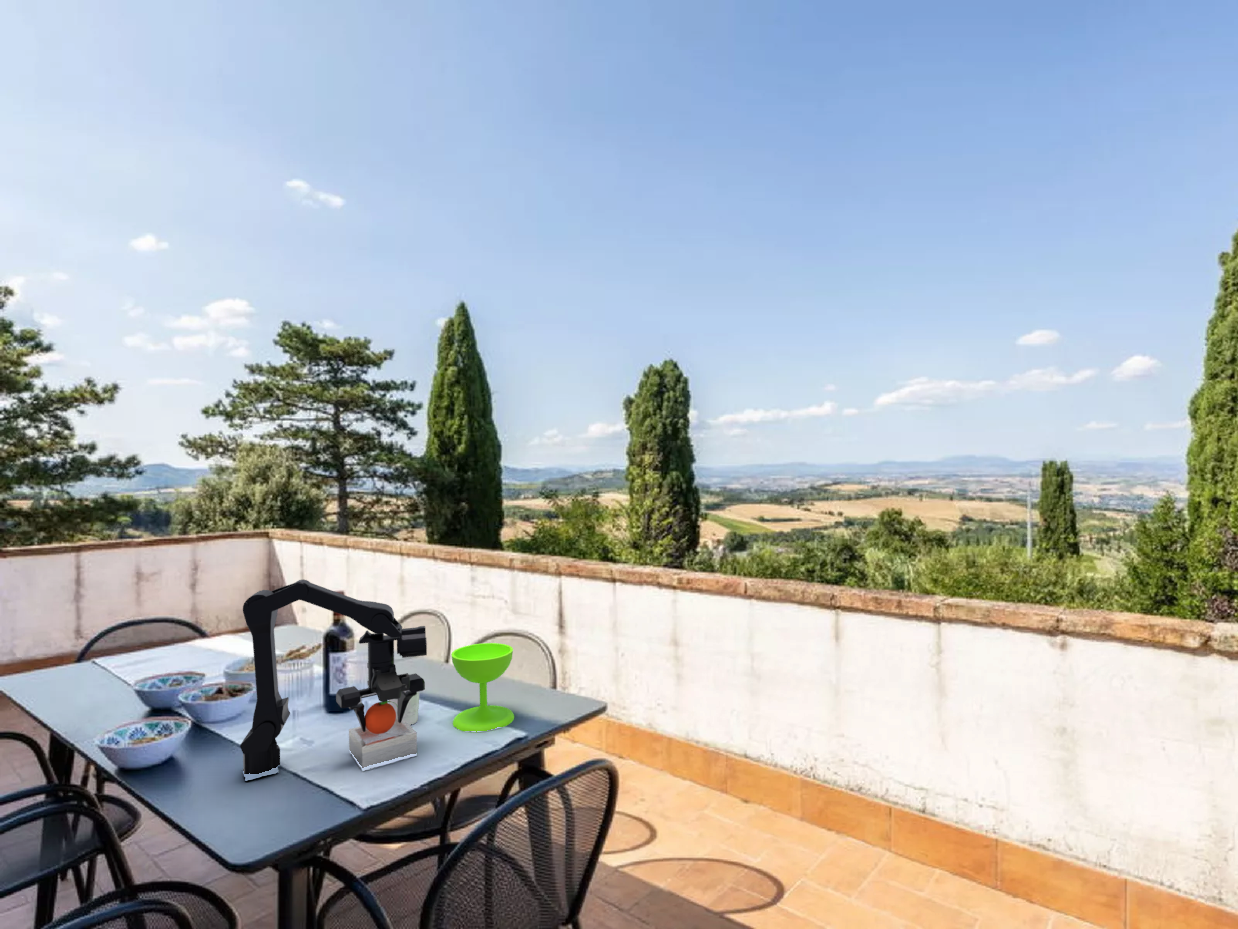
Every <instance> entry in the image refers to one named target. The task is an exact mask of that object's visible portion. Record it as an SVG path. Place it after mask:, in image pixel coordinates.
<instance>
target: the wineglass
mask: <svg viewBox="0 0 1238 929" xmlns="http://www.w3.org/2000/svg"><path fill="white" fill-rule="evenodd" d="M513 652H514V648H513V647H512V646H511V645H508V644H507V643H506V644H505V643H498V642H485V643H482V642H481V643H474V644H469V645H464V646H461V647H458V648H456V649H454V650H453V651H452V652H451V655H450V657H451V662H452V664H453V668H454V669H455V671H456V673H457V674H459V676H460V677H461V678H463V679H465V680H467V681H468V682H469V683H475V684H478V685H479V686H478V687H479V706H474V707H471V708H467V709H464V710H462V711H461V712H458V714H457V715H455V716H454V718H453V720H452V726H453V728H455V727H456V728H457V729H456V728H455V729H456V730H458V729H459V731H461V732H465V731H476V732H475V733H478V732H477V731H487V730H491V729H495V728H497V727H503V728H505V727H507V726H508V725H510V724H512V722H513V721H514V720H515V714H514V713H513V710H511V709H510V708H508V707H505V706H502V705H501V706H500V705H496V704H495V705H493V704H492V705H491V704H490V705H488V690H487V689H488V683H490V682H492V681H493V682H494V681H496V680H497V679H499V677H501V676H503V675H504V674H505V672H506V671H507V669H508V668H509V667H510V665H511V661H512V659H513ZM487 732H488V731H487Z"/></svg>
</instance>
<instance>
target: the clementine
mask: <svg viewBox="0 0 1238 929" xmlns="http://www.w3.org/2000/svg"><path fill="white" fill-rule="evenodd" d="M389 702H391V701H389V700H387V701H386V702H381V701H378V702H375V703H374V704H372V705H371V706H369V707H368V709H367V710H366V712H365V713H364V716H365V725H366V728H367V729H368V730H369V731H370V732H372V733H374V734H382V733H385V732H387V731H388V730H390V729H391V728H392V726H393V725H394V723H395V720H396V712H395V709H394V707H393V706H392V705H391V704H389ZM393 703H394V702H393ZM395 704H396V703H395ZM396 705H397V704H396ZM397 707H398V706H397Z"/></svg>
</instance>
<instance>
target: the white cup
mask: <svg viewBox="0 0 1238 929" xmlns="http://www.w3.org/2000/svg"><path fill="white" fill-rule="evenodd" d="M388 701H391V702H389V704H391V705H392V706H393V707H394V709H395V712H396V717H398V716H397V705H398V699H391V700H388ZM393 702H394V703H393ZM395 703H396V704H397V705H396V704H395ZM419 709H420V691H419V692H417V695H415V696H413V697H412V698H411V699H410V700H409V702H408V704H407V707H406V709H405V712H404V715H403V719H404V720H405V721H406V722H407V723H408V724H409V725H410V726H412V725H414V724H416V723H417V722H418V721H419ZM411 724H412V725H411Z"/></svg>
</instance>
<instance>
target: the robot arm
mask: <svg viewBox="0 0 1238 929" xmlns="http://www.w3.org/2000/svg"><path fill="white" fill-rule="evenodd" d="M297 601H303V602H305V603H308V604H312V605H314V606H316V607H319V608H322V609H325V610H329V611H330V612H334V613H337V614H339V615H342V616H344V617H348V618H350V619H352V620H353V621H355V622H356V623H357V624H358V625H360V626H361V627H362V628H365V629H367V630H365V632H364V634H363V635H362V636H361V637H359V640H358V643H359V644H360V645H361V644H367V664H366V666H367V674H368V675H367V676H368V677H367V678H368V679H367V688H362V689H359V688H357V687H356V686H354V685H352V686H347V687H345V688H344V687H343V688H339V689H338V690H337V692H336V693H335V699H336V700H335V701H336V703H337V704H338V706H339V707H340V708H341V709H347V708H348V709H349V710H351V711H354V713H355V715H356V718H357V720H358V722H359V723H358V724H359V725H360V726H361V728H362V731H363V732H365V729H366V725H365V704H364V703H363V702H362V700H363V699H365V698H370V697H374V696H377V697H378V702H386V701H389V700H391V699H398V705H397V706H398V707H397V716H398V722H399V723H401V721H402V718H403V715H404V712H405V709H406V707H407V704H408V702H409V700H410V699H411V698H412V697H413V696H415V695H417V692H419V693H420V692H422V691H424V690H426V688H425V687H426V683H425V679H424V678H423V677H421V676H420V675H419V674H417V673H411V674H409V673H407V672H406V673H402V674H398V673H397V669H396V668H397V666H396V664H395V641H396V654H397V655H399V656H400V657H401V658H402V659H403V658H405V659H406V658H415V657H424V656H425V657H426V656H427V654H428V653H427V652H428V650H427V649H428V647H427V645H428V642H427V637H426V632H427V631H426V626H425V625H421V626H418V627H407V628H405V627H404V628H403V625H402V624H401V623H400V622H399V621H398V620H397V619H396V618H395V614H394V613H395V612H394V610H393V608H392V606H390V605H389V604H387V603H383V602H376V601H369V600H360V599H356V598H353V597H350V596H347V595H345V594H342V593H340V592H337V591H334V590H332V589H329V588H326V587H324V586H320V585H319V584H318V585H317V584H315V583H313V582H311V581H309V580H307V579H298V580H297V581H296V582H293V583H290V584H288V585H284V586H281V587H278V588H276V589H273V590H268V589H262V590H258V591H256V592H255V593H254V594H252V595H251V596H250V597H248V598H247V599H246V600H245V602H244V603H243V606H242V612H243V616H244V620H245V621H244V622H245V624H246V626H247V628H248V631H249V633H250V634H251V639H252V648H253V649H252V650H253V651H252V652H253V660H254V661H253V662H254V664H253V665H254V676H255V687H256V688H255V690H256V692H255V693H256V704H255V708H254V712H253V716H252V717H253V718H252V725H251V729H250V730H249V731H248V733H247V734H246V735H245V737H244V739H243V741H242V742H241V743H240V745H239V748H240V750H241V752H242V760H243V761H242V764H243V765H242V767H243V768H242V769H243V771H244V774H249V773H250V774H259V773H262V772H265V771H269V770H271V769H272V768H276V767H277V766H278V765H280V766H281V749H280V748H281V747H280V746H279V744H278V742H277V739H276V738H278V736H279V735H280V734H281V733H282V730H283V729H284V726H285V724H286V723H287V720H288V718H290V716H291V712H290V710H289V697H283V698H282V696H281V694H280V692H279V682H278V667H277V666H278V665H277V652H276V640H275V639H276V638H275V628H276V622H277V617H278V613H279V611H278V610H280V609H281V608H284V607H286V606H288V605H290V604H292V603H294V602H297ZM370 631H371V632H370ZM360 726H359V727H360Z"/></svg>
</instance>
